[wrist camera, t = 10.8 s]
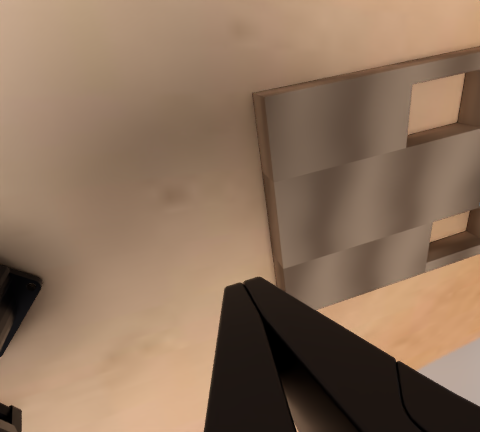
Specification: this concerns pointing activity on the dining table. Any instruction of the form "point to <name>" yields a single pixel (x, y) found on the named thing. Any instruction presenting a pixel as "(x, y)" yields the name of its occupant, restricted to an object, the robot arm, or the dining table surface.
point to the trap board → (366, 178)
